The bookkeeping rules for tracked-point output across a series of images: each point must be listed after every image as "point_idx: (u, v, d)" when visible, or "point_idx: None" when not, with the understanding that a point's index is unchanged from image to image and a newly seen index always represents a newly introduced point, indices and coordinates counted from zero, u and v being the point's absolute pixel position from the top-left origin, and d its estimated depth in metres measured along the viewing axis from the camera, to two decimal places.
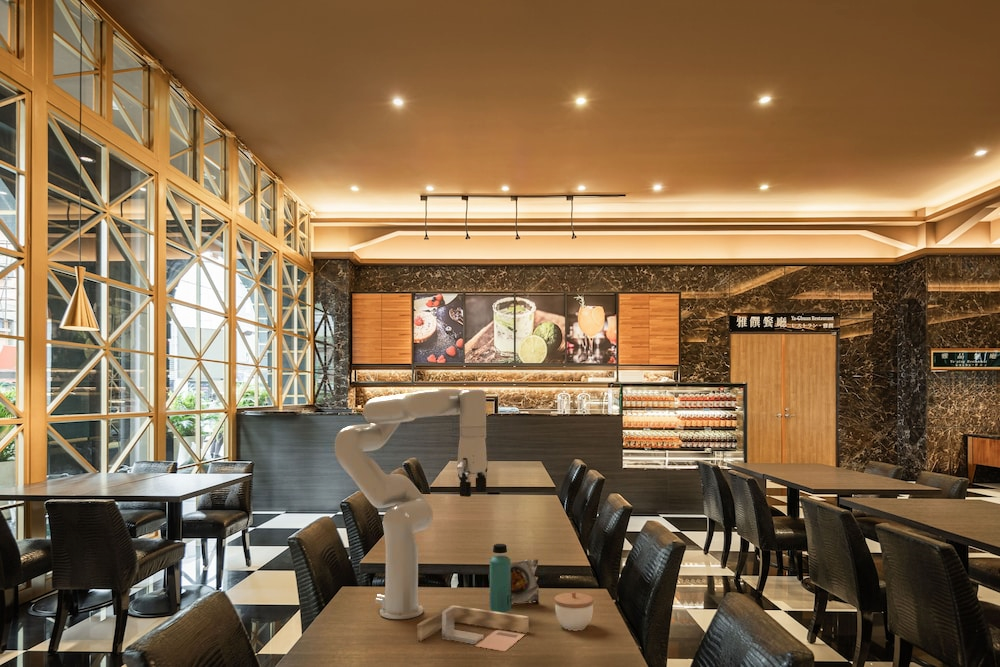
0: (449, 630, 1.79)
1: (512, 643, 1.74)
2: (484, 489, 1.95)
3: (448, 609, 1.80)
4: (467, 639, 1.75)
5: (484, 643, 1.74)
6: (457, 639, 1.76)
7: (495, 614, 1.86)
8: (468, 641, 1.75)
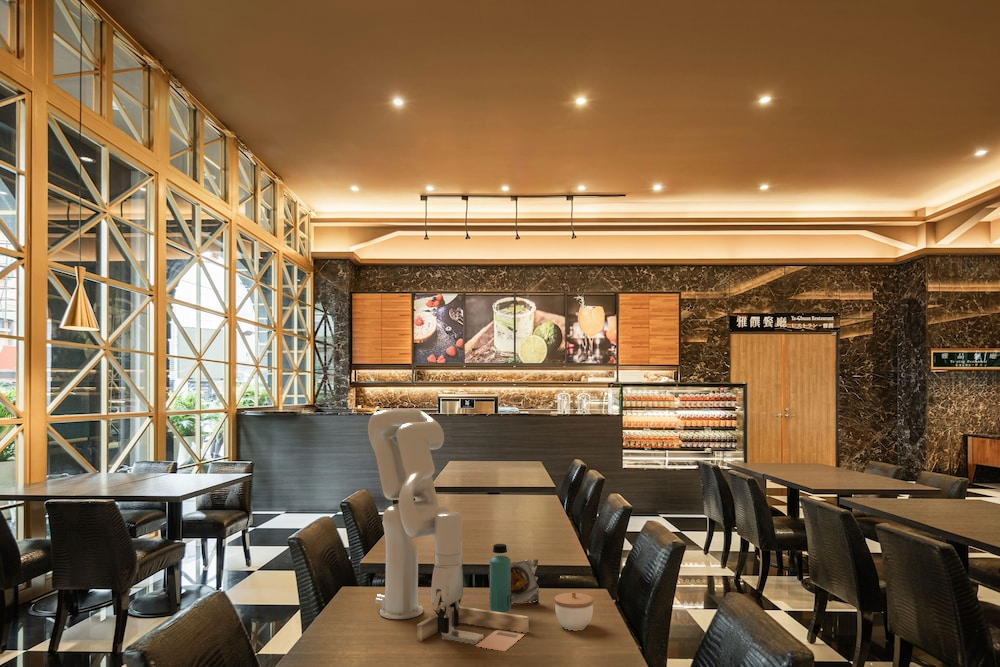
0: (449, 630, 1.79)
1: (512, 643, 1.74)
2: (456, 624, 1.81)
3: (448, 609, 1.80)
4: (467, 639, 1.75)
5: (484, 643, 1.74)
6: (457, 639, 1.76)
7: (495, 614, 1.86)
8: (468, 641, 1.75)
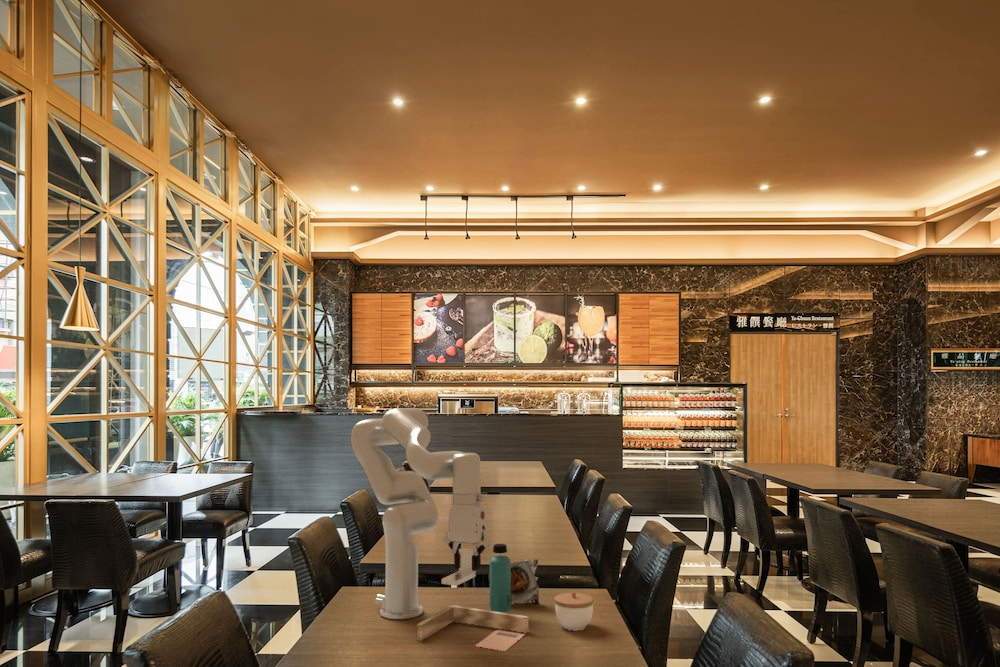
0: (464, 569, 1.81)
1: (512, 643, 1.74)
2: None
3: (466, 549, 1.81)
4: None
5: (484, 643, 1.74)
6: None
7: (495, 614, 1.86)
8: None
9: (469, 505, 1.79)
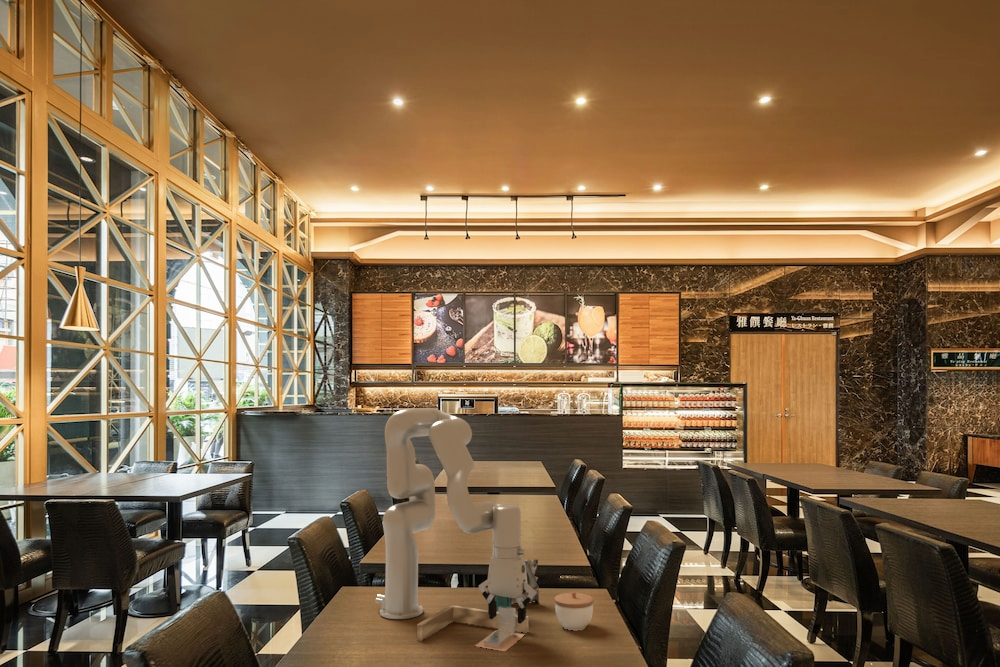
0: (504, 628, 1.80)
1: (512, 643, 1.74)
2: (518, 620, 1.78)
3: (506, 607, 1.81)
4: None
5: None
6: None
7: None
8: None
9: (510, 559, 1.78)
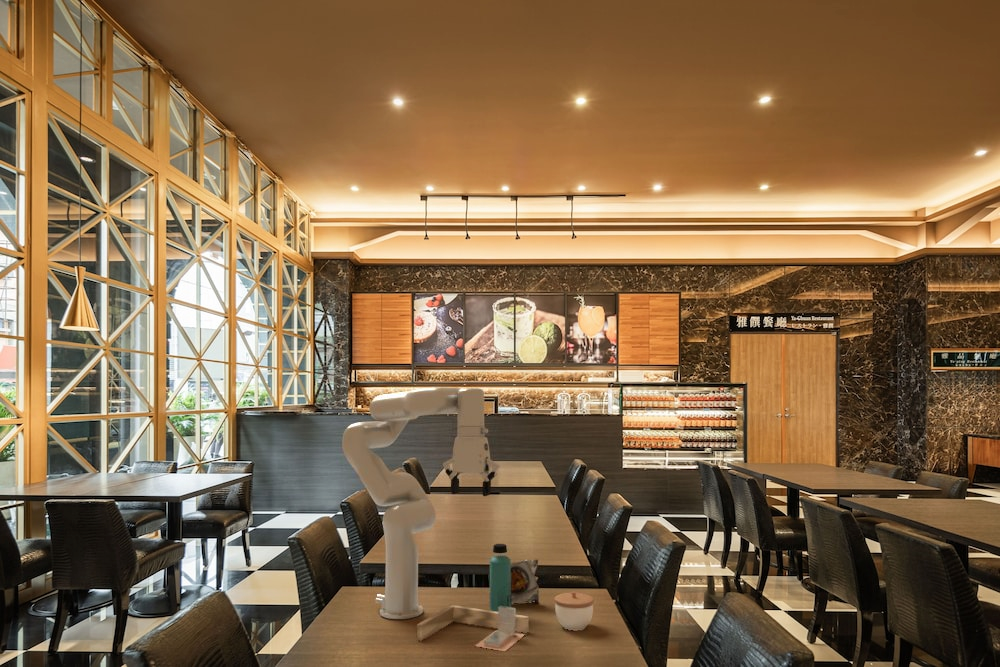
0: (504, 628, 1.80)
1: (512, 643, 1.74)
2: (483, 493, 1.85)
3: (506, 607, 1.81)
4: None
5: None
6: None
7: (495, 614, 1.86)
8: None
9: (473, 437, 1.86)
